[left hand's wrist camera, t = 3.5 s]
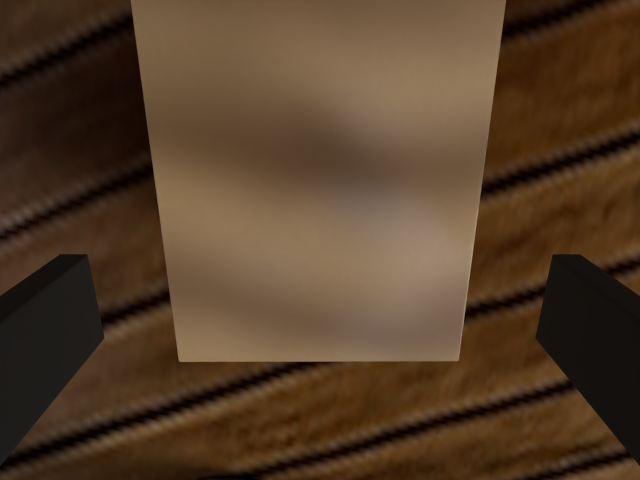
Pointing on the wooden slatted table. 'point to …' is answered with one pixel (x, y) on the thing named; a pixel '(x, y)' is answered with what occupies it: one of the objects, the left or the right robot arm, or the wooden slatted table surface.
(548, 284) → the left robot arm
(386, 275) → the cabinet
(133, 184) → the wooden slatted table surface
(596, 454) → the wooden slatted table surface
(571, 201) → the wooden slatted table surface
